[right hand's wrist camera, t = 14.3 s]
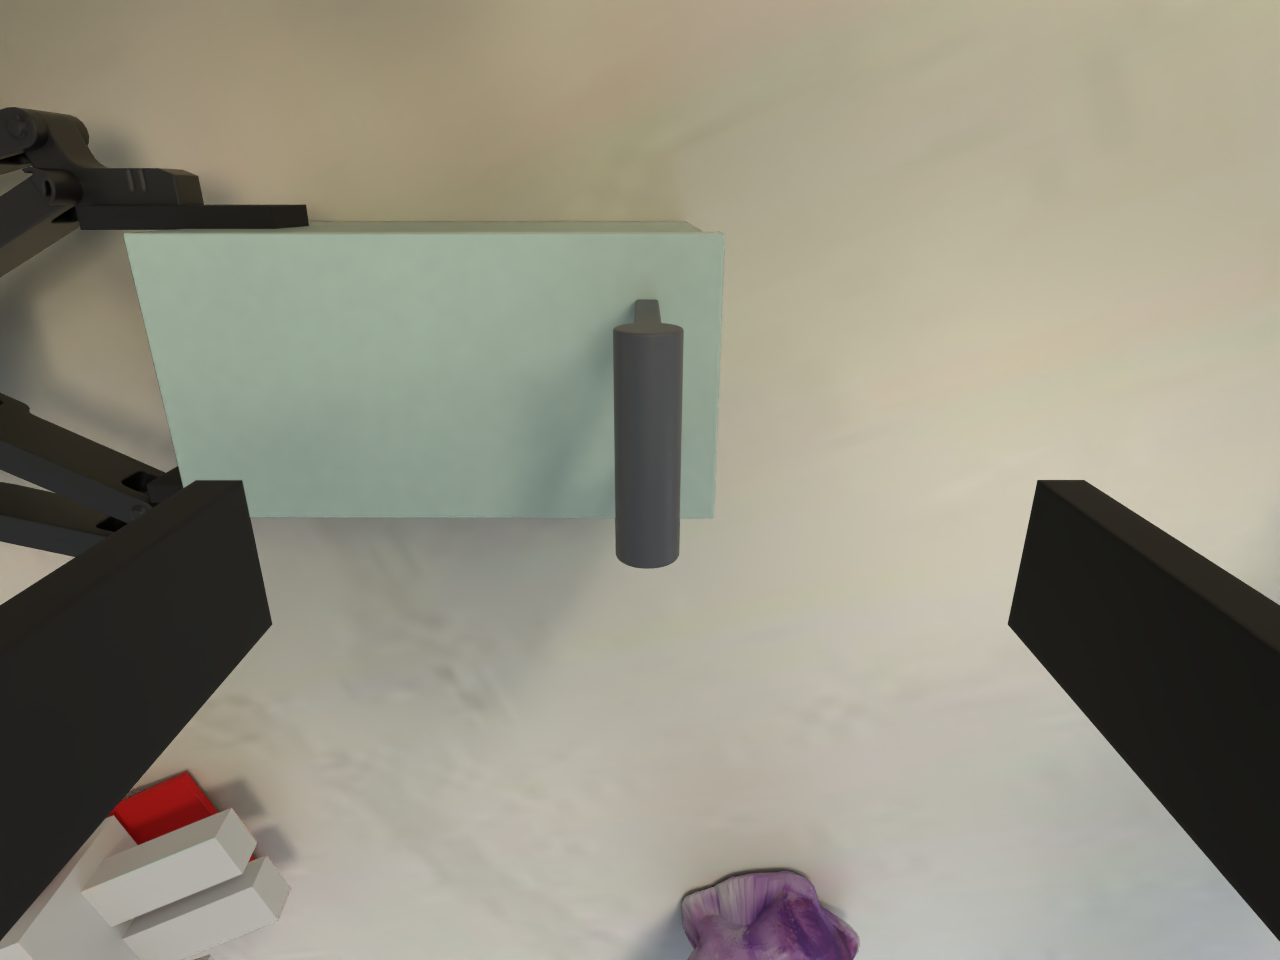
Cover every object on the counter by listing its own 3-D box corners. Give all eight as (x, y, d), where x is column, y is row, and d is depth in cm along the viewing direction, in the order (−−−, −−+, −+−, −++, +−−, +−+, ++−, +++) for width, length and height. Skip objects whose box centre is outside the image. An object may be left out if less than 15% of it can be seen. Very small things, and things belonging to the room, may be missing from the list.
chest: (686, 221, 32) (704, 231, 23) (682, 424, 35) (696, 506, 26) (289, 221, 32) (144, 231, 23) (322, 424, 35) (207, 505, 26)
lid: (721, 231, 23) (760, 248, 15) (711, 506, 26) (739, 631, 19) (143, 231, 23) (-100, 248, 15) (206, 506, 26) (31, 630, 19)
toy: (275, 1037, 37) (-282, 1263, 37) (344, 833, 49) (-71, 1002, 49) (134, 866, 33) (-490, 1119, 33) (248, 692, 45) (-203, 875, 45)
